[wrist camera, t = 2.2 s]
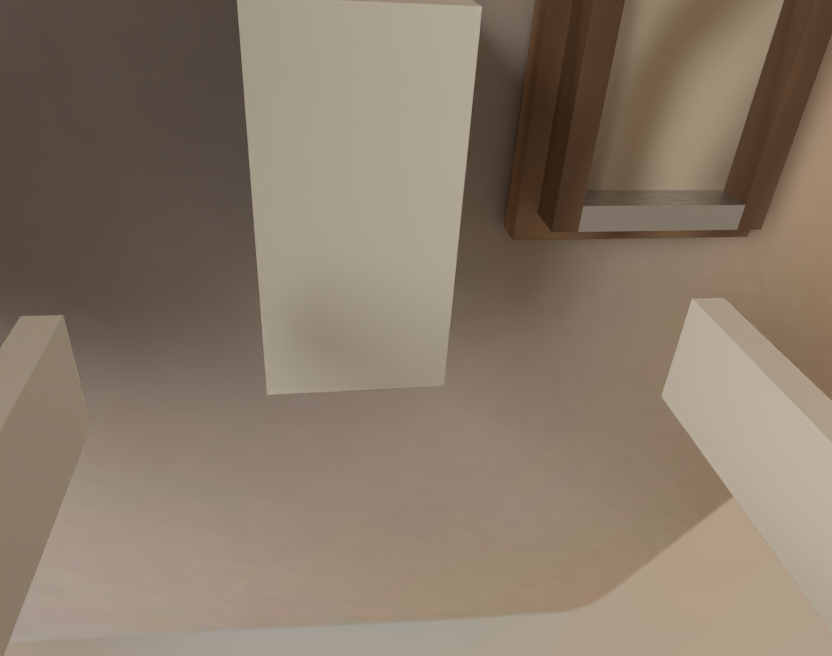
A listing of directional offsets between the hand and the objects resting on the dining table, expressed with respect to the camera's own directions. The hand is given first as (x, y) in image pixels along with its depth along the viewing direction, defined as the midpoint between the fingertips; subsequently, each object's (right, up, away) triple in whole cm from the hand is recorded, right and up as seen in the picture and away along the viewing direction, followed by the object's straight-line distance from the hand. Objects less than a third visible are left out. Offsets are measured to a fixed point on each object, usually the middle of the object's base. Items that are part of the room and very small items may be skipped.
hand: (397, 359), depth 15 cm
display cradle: (+11, +14, +14) cm, 23 cm away
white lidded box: (-3, +10, +14) cm, 17 cm away
